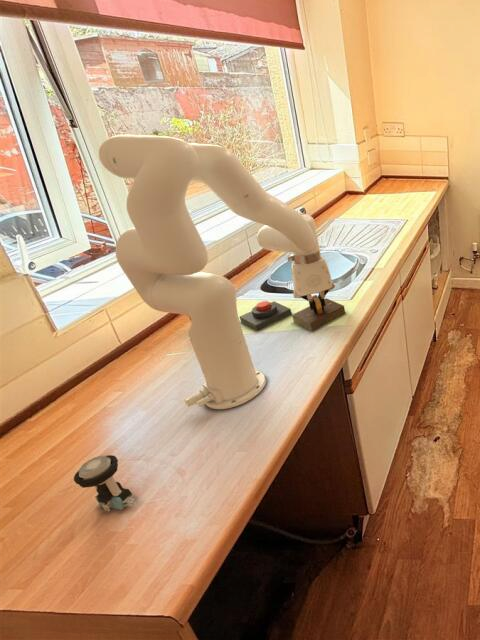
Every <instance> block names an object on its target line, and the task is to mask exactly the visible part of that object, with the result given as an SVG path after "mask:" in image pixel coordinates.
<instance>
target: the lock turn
mask: <svg viewBox="0 0 480 640" xmlns="http://www.w3.org/2000/svg"><path fill="white" fill-rule="evenodd" d="M312 297H313V299H314V301H315V304H316V309H317V313H318V314H320V313H323V311H322V306H321V302H320V300H319V298H318V295H317V294H314V295H312Z"/></svg>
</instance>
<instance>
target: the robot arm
mask: <svg viewBox="0 0 480 640" xmlns="http://www.w3.org/2000/svg"><path fill="white" fill-rule="evenodd" d="M98 158H99V160H100V162H101V165H102V166H103V168H105V169H106V171H108V172H109V173H111V174H112V175H114V176H116V177H118V178H120V179H125V180H131V181H133V182H132V184H131V186H130V188H129V191H128V194H127V197H126V211H127V214H128V217H129V219H130V221H131V223H132V225H133V227H131V228H129V229H127V230H125V231H124V232H123V233H121V235H120V236H119V237H118V239H117V241H116V244H115V257H116V260H117V263H118V265H119V266H120V268H121V270H122V271H123V273H124V274H125V276H126V277H127V279H128V280H129V282H130V283H131V285H132V287H133V288H134V289H135V291H136V292H137V294H138V295H139V297H140V298H141V300H142V301H143V302H144V303H145V304H146V305H147V306H148V307H150V308H151V309H152V310H155V311H157V312H161V313H169V314H174V315H175V314H176V315H181V316H187V317H188V318H189V317H190V318H189V320H190V319H191V321H190V326H189V330H188V338H189V341H190V343H191V347H192V348H193V351H194V354H195V356H196V360H197V361H198V364H199V367H200V369H201V372H202V374H203V378H204V379H205V382H203V383H202V387H203V388H201V389H199V392H197V393H195V394H192V395H191V396H189V397H187V398H185V399H184V403H185V405H186V406H187V407H188V408H190V407H192V406H194V405H197V406H198V407H199V408H201V407H202V406H204V405H205V406H207V407H208V408H210V409H215V410H225V409H226V410H227V409H231V408H234V407H238V406H240V405H243V404H245V403H248V402H249V401H251V400H253V399H254V398H255V397H257V395H259V394H260V393H261V392H262V390H263V389H264V388H265V385H266V383H267V379H266V376H265V374H264V373H263V372H262V371H259V370H257V369H255V366H254V363H253V359H252V357H251V354H250V350H249V347H248V344H247V341H246V338H245V335H244V331H243V328H242V325H241V320H240V316H239V313H238V308H237V305H238V304H237V291H236V288H235V286H234V284H233V282H232V281H230V280H229V279H228V278H227V277H224V276H222V275H220V274H216V273H212V272H211V273H210V272H203V270H204V269H205V268H206V267H207V264H208V262H209V254H208V250H207V247H206V245H205V243H204V240H203V239H202V236H201V235H200V233H199V231H198V229H197V227H196V225H195V223H194V221H193V219H192V216H191V215H190V213H189V210H188V208H187V205H186V195H187V191H188V188H189V185H190V184H191V183H196V184H197V183H198V184H204V185H205V186H207V187H208V188H209V190H211V192H213V193H214V194H215V195H216V196H217V197H218V198H219V199H220V200H221V201H222V202H223V203H224V205H226V206H227V208H228V209H229V210H230V211H231V212H232V213H234V214H235V215H237V216H240V217H242V218H243V219H247V220H248V221H251V222H255V223H258V224H261V225H263V226H262V227H261V228H260V229H259V230H258V232H257V234H256V242H257V244H258V246H260V247H261V248H262V249H264V250H267V251H271V252H280V253H289V254H290V255H289V256H286V260H287V262H291V278H292V284H293V293H292V297H293V298H294V299H303V300H305V301H307V302H308V304H309V306H310V309H311V310H312V309H313V310H314V312H315V313H316V312H317V309H316V304H315V301H314V299H313V297H312V296H313V294H317V293H318V295H317V297H318V298H319V300H320V302H321V306H322V310H324V306H325V300H324V299H326V295H327V294H328V293H329V292H330V291H331V290H334V289H335V287H336V285H335V284H334V283H333V280H332V275H331V272H330V268H329V265H328V263H327V260H326V258H325V257H324V256H322V252H321V248H320V243H319V237H318V232H317V227H316V223H315V219H314V217H312V215H309V214H304V213H303V214H301V213H300V212H299V211H297V210H296V209H294V208H293V207H292V206H290V205H289V204H287V203H285V202H284V201H282V200H281V199H279V198H277V197H276V196H274V195H272V194H270V193H268V192H267V191H266V190H265V189H264V188H263V186H262V185H261V184H260V183H259V182H258V181H257V180H256V178H255V177H254V176H253V175H252V173H250V171H249V170H248V169H247V168H246V166H245V164H243V163H242V162H241V160H240V159H239V158H238V157H237V156H236V154H235V153H234V152H233V151H231V150H230V149H229V148H227V147H225V146H222V145H218V144H210V143H209V144H208V143H192V142H191V143H189V142H187V141H185V140H184V139H180V138H176V137H173V136H167V135H166V136H165V135H143V134H142V135H141V134H116V135H113V136H110V137H108V138H106V139H105V140H103V142H102V143H101V145H100V146H99V149H98Z"/></svg>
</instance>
